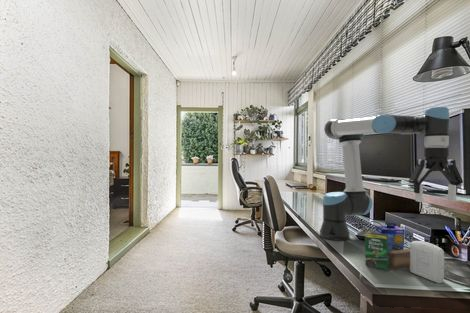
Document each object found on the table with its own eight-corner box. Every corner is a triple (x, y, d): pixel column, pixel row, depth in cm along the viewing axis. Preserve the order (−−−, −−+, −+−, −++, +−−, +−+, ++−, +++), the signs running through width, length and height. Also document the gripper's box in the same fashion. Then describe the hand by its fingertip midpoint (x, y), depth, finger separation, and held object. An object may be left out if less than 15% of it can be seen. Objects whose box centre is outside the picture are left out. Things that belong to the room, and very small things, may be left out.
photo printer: (446, 282, 88) (446, 246, 88) (439, 284, 86) (439, 248, 86) (415, 270, 98) (415, 237, 98) (407, 272, 96) (407, 239, 96)
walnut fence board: (389, 267, 100) (389, 251, 100) (426, 260, 106) (426, 246, 106) (394, 269, 98) (394, 254, 98) (432, 263, 104) (432, 248, 104)
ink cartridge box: (381, 257, 110) (381, 223, 110) (374, 252, 115) (374, 220, 115) (405, 257, 109) (405, 223, 109) (397, 253, 115) (397, 220, 115)
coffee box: (364, 265, 102) (364, 232, 102) (366, 263, 104) (366, 230, 104) (387, 271, 97) (387, 236, 97) (389, 268, 99) (389, 234, 99)
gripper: (412, 146, 96) (412, 203, 96) (476, 147, 97) (474, 203, 98) (398, 147, 103) (398, 199, 104) (457, 147, 105) (456, 199, 105)
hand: (435, 201), depth 101 cm, fingers open, 13 cm apart
